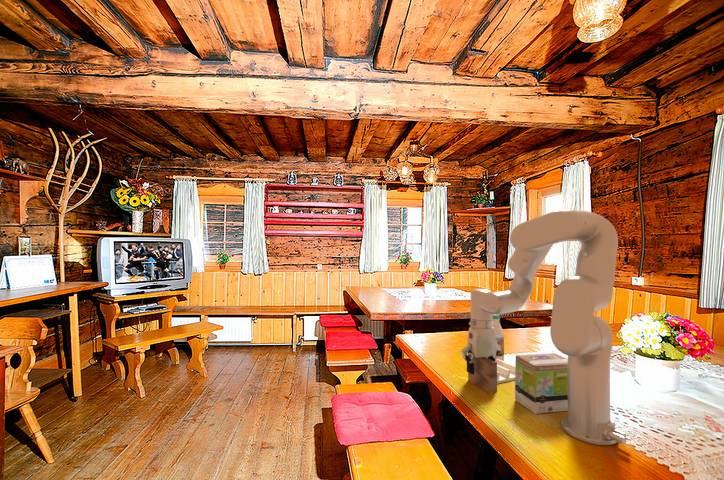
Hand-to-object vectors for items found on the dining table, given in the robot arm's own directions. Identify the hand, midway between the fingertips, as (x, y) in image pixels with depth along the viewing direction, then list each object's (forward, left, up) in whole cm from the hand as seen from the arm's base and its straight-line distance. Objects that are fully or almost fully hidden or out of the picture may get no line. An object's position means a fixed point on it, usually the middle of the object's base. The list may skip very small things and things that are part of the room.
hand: (480, 371), depth 119 cm
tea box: (-19, -8, -5) cm, 22 cm away
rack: (+6, -13, -5) cm, 15 cm away
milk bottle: (+18, -24, -5) cm, 30 cm away
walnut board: (0, 0, -5) cm, 5 cm away
